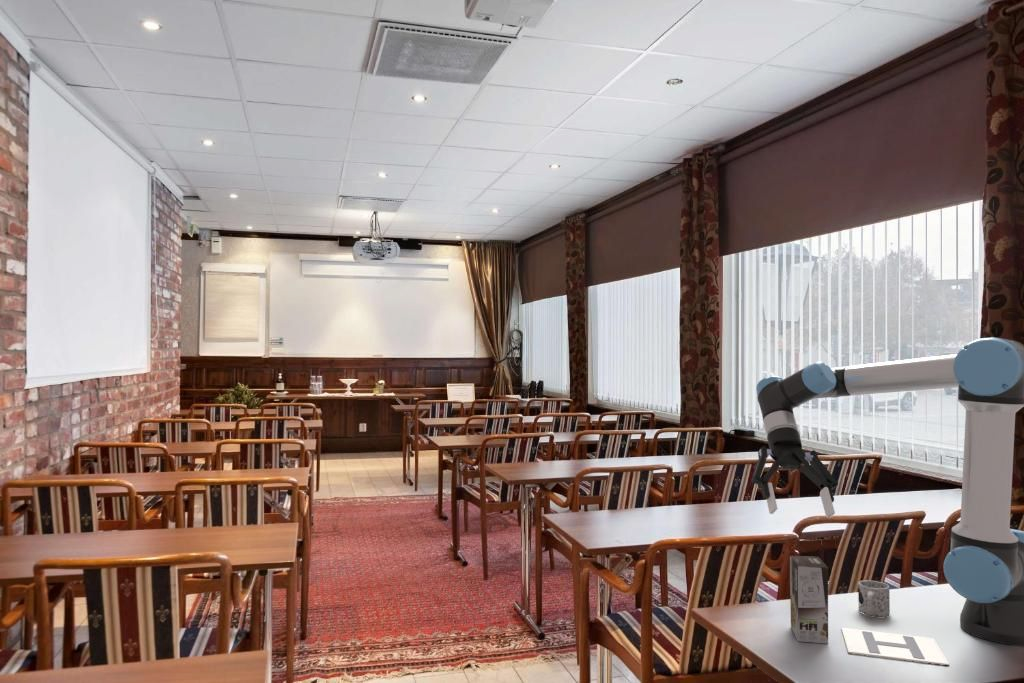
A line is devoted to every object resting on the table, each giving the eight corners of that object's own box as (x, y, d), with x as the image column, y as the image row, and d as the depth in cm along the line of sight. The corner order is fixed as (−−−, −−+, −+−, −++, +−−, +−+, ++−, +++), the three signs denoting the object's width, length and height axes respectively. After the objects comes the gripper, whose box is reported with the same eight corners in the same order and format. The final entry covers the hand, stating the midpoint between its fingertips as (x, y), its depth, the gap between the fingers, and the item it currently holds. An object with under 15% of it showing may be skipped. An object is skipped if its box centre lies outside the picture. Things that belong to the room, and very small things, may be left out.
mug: (861, 606, 175) (860, 578, 176) (891, 611, 172) (891, 583, 172) (853, 618, 167) (853, 589, 167) (885, 624, 163) (885, 594, 164)
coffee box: (829, 644, 151) (829, 567, 152) (797, 642, 153) (796, 565, 153) (820, 628, 160) (819, 556, 161) (789, 626, 162) (789, 554, 162)
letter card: (933, 640, 154) (933, 637, 154) (949, 666, 141) (949, 663, 141) (841, 629, 160) (841, 627, 160) (848, 653, 147) (848, 651, 147)
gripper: (823, 445, 181) (846, 524, 168) (728, 437, 179) (743, 516, 166) (837, 429, 175) (862, 510, 162) (739, 421, 173) (755, 501, 160)
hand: (802, 513), depth 164 cm, fingers open, 13 cm apart
